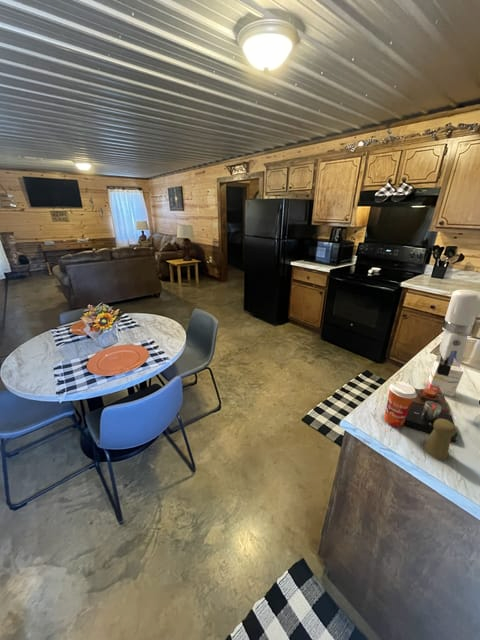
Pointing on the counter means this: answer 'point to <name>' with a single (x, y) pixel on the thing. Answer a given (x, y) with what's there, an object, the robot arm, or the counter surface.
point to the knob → (431, 411)
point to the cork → (440, 439)
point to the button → (429, 393)
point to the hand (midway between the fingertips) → (442, 373)
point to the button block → (437, 399)
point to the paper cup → (399, 403)
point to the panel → (424, 421)
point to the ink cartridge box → (445, 378)
